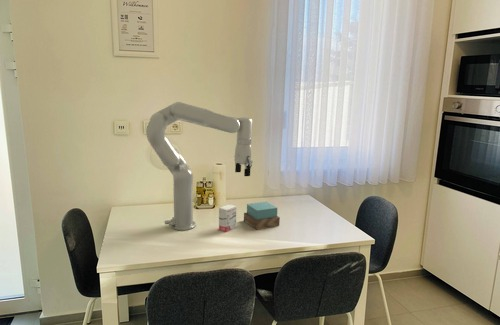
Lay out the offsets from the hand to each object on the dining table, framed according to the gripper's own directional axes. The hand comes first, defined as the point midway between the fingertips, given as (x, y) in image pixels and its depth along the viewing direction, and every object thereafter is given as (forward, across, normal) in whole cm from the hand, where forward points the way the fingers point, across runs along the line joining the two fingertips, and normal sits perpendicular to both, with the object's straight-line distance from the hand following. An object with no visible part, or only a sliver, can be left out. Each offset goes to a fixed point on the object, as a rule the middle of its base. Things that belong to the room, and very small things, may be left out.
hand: (242, 174), depth 195 cm
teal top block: (+22, +6, +10) cm, 25 cm away
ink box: (+27, +6, -11) cm, 30 cm away
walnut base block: (+27, +6, +10) cm, 29 cm away
